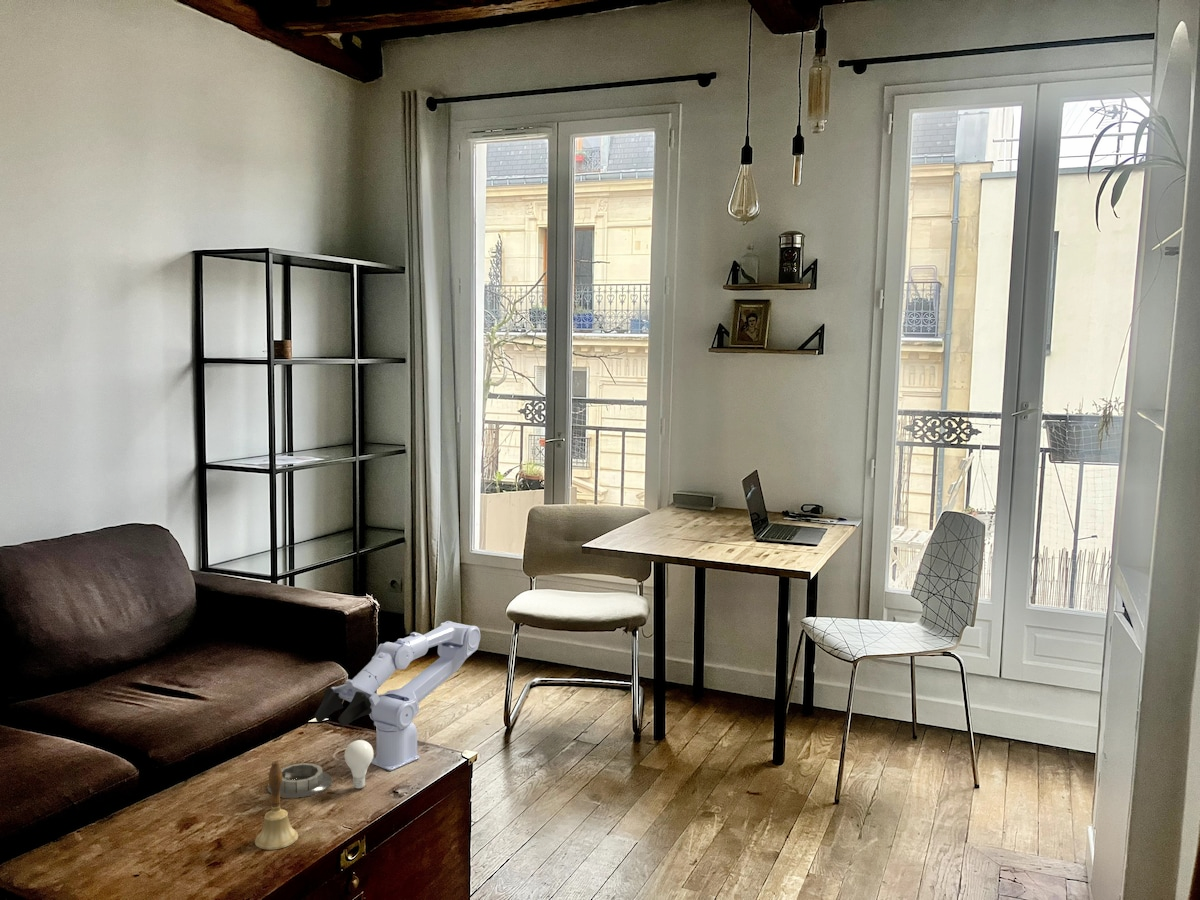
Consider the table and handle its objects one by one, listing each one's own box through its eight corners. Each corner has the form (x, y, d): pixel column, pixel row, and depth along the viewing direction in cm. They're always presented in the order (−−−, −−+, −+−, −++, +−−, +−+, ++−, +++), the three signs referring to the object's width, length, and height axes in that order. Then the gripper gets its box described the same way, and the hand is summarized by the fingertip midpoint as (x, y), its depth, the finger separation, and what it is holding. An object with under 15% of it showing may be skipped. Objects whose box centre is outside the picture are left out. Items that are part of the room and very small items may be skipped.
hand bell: (245, 841, 186) (244, 764, 185) (280, 825, 193) (280, 750, 192) (272, 854, 182) (271, 775, 180) (307, 837, 189) (306, 760, 187)
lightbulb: (377, 782, 214) (377, 736, 213) (368, 795, 207) (367, 747, 206) (350, 781, 214) (350, 734, 213) (340, 793, 208) (340, 745, 207)
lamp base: (306, 765, 222) (306, 754, 222) (344, 782, 214) (344, 770, 213) (254, 786, 210) (253, 774, 210) (292, 804, 202) (292, 792, 202)
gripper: (340, 663, 219) (299, 703, 208) (384, 669, 211) (344, 710, 201) (351, 687, 221) (311, 727, 211) (396, 694, 213) (357, 735, 203)
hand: (328, 720), depth 206 cm, fingers open, 7 cm apart
